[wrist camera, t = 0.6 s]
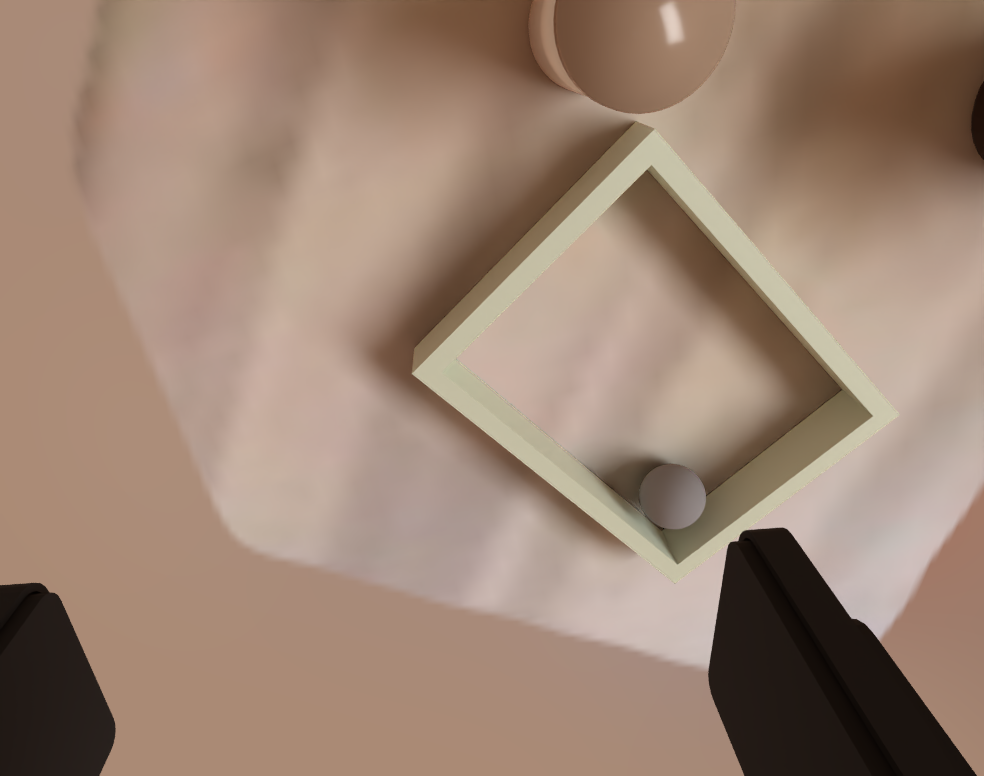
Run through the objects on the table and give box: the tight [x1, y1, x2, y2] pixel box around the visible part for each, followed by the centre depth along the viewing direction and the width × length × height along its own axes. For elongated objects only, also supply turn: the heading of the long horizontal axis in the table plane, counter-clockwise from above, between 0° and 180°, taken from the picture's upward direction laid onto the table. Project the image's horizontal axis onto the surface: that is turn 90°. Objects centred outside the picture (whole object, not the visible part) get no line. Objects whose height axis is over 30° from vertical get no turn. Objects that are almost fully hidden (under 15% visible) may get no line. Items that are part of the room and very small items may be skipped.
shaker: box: [528, 0, 736, 114], centre depth 24 cm, size 5×5×9 cm
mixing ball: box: [639, 464, 706, 529], centre depth 38 cm, size 4×4×4 cm
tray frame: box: [412, 121, 899, 584], centre depth 35 cm, size 15×20×3 cm
